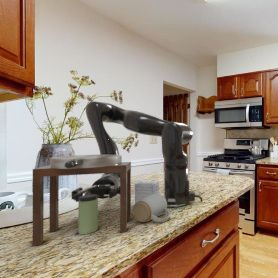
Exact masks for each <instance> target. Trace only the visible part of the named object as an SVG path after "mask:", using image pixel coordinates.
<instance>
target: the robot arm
mask: <svg viewBox="0 0 278 278" xmlns="http://www.w3.org/2000/svg"><path fill="white" fill-rule="evenodd" d="M85 115H86V118H87V122H88V124H89V126H90V130H91V131H92V134H93V136H94V138H95V140H96V144H97V147H98V151H99V155H120V152H119V148H118V145H117V143H116V142H115V140H114V139H113V138H112V137H111V136H110V134H109V133H108V132H107V130H106V127H105V126H104V123H106V124H107V123H111V124H118V125H121V126H123V128H124V129H126V130H127V131H130V132H132V133H136V134H139V135H143V136H150V137H151V136H152V137H160V139H161V153H162V157H163V159H164V164H163V168H164V173H163V174H164V175H163V177H164V179H163V181H164V182H163V183H164V184H163V187H164V188H163V189H164V191H163V192H164V193H163V196H164V198H165V199H166V201H167V208H180V207H183V206H188V205H190V202H195V201H196V198H197V199H198V198H199V199H200V202H201V203H202V202H203V201H204V200H203V197H202V196H200V195H198V194H196V192H195V191H194V190H190V180H189V154H188V153H186V152H185V151H184V149H183V145H187V144H189V143H190V142H191V141H192V139H193V137H194V133H193V129H192V128H191V127H190V126H189V125H188V124H186V123H183V122H178V121H177V122H176V121H169V120H164V119H162V118H159V117H157V116H153V115H152V114H148V113H145V112H141V111H137V110H132V109H131V110H130V109H124V108H121V107H119V106H117V105H114V104H112V103H109V102H102V101H90V102H88V103H87V105H86V106H85ZM108 139H109V140H108ZM90 194H96V195H97V198H98V199H99V200H104V199H108V198H109V200H111V199H113V198H115V197H116V196H118V195H119V196H120V173H102V174H101V176H100V177H99V178H98V179H97V180H95V181H94V182H93V183H92V185H91V186H89V187H85V188H83V187H78V188H76V189H74V190H72V191H71V200H73V201H75V202H76V203H77V202H78V203H79V197H81V196H84V195H90Z"/></svg>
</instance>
